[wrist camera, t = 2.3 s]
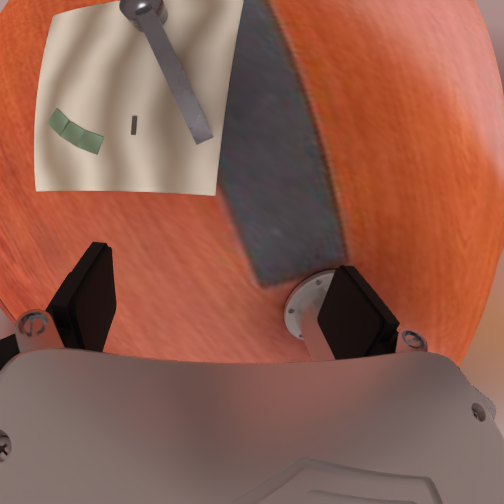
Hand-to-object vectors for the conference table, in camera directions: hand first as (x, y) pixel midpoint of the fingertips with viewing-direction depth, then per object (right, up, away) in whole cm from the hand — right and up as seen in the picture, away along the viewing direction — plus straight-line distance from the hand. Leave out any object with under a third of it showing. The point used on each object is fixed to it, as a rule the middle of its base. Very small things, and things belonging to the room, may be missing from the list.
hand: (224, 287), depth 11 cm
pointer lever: (-7, +19, +10) cm, 23 cm away
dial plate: (-12, +18, +12) cm, 25 cm away
